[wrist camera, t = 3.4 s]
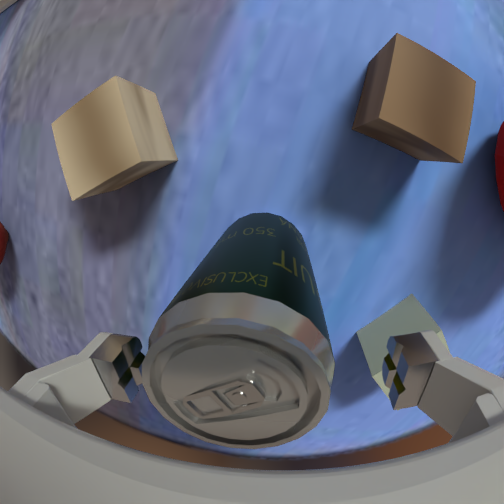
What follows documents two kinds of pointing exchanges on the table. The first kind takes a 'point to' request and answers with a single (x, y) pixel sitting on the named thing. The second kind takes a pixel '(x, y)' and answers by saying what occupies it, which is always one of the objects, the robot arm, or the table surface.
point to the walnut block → (416, 102)
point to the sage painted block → (394, 333)
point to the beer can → (244, 342)
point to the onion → (3, 241)
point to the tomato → (500, 164)
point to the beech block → (112, 138)
